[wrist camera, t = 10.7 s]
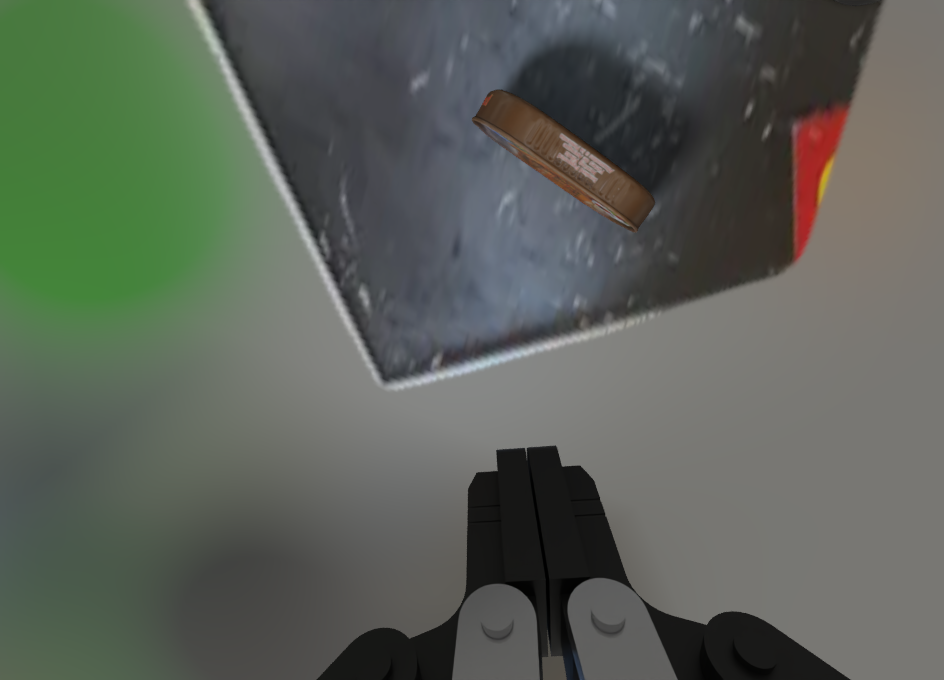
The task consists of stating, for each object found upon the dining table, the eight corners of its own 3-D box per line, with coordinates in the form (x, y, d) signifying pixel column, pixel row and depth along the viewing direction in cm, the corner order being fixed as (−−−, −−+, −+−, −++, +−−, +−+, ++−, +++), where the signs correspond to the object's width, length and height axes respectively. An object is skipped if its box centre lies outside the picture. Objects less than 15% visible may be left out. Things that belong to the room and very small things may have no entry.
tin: (470, 124, 36) (468, 123, 28) (491, 86, 35) (495, 74, 27) (613, 224, 39) (647, 248, 31) (637, 193, 38) (678, 209, 30)
